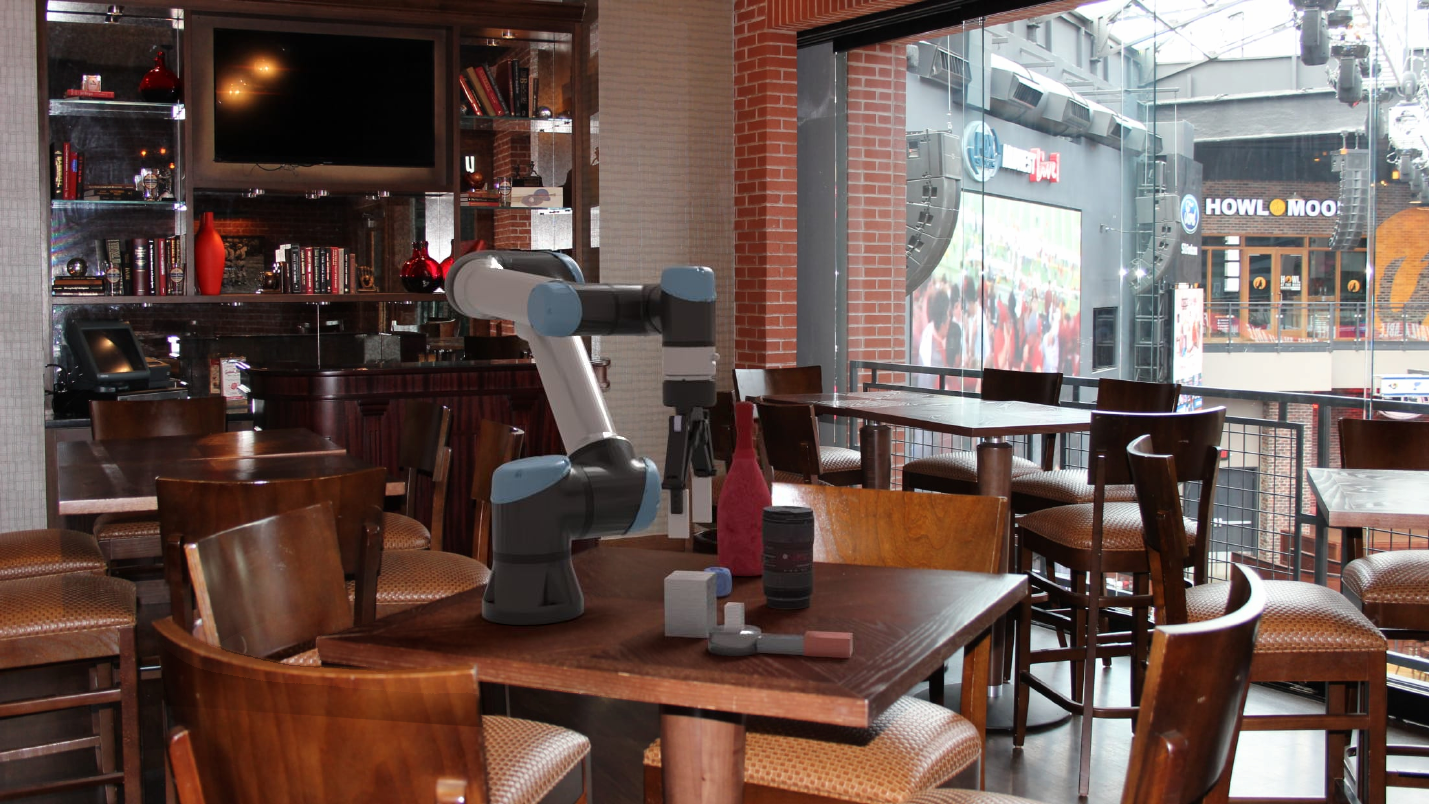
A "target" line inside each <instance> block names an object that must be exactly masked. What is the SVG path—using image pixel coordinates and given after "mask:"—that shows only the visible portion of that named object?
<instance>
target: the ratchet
mask: <svg viewBox="0 0 1429 804" xmlns="http://www.w3.org/2000/svg"><path fill="white" fill-rule="evenodd" d="M853 635H854V634H853V632H840V631H839V632H837V631H819V630H818V631H817V630H816V631H815V630H807V631H806V632H805V634H787V633H767V632H766V633H765V632H762V629H761V628H760V627H758V626H755V625H750V624H745V603H744V602H729V601H728V602H727V603H726V604H725V605H724V624H721V625H720V624H719V625H717V626H715V627H712V628H710V629H709V630H708V637H707V639H708V646H707V647H708V652H709V653H712V654H714V655H719V656H725V655H727V656H728V657H740V656H741V657H742V656H750V655H754V654H757V653H759V654H774V655H775V654H777V655H778V654H780V655H797V656H798V655H800V656H805V657H817V658H818V657H820V658H822V657H823V658H839V659H840V658H842V659H843V658H844V659H850V658H851V657H852V654H853V653H854V650H853V649H854V645H853V644H854V640H853V638H854V637H853Z"/></svg>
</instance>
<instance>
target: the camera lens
mask: <svg viewBox="0 0 1429 804" xmlns="http://www.w3.org/2000/svg"><path fill="white" fill-rule="evenodd" d="M762 516H763V517H762V543H763V553H762V554H761V562H762V563H763V571H762V575H761V578H762V579H761V580H762V589H763V595H764V596H765V597H766V606H768V607H769V608H773V609H777V610H797V609H803V608H807V607H809V606H810V604H811V596H812V595H813V591H814V590H813V589H814V588H813V587H814V582H815V580H814V579H815V576H814V575H815V571H814V544H815V533H816V532H815V522H816V521H815V514H814V509H813V508H811V507H806V506H797V505H773V506H769V507H765V508H764V511H763V515H762Z"/></svg>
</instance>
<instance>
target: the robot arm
mask: <svg viewBox="0 0 1429 804" xmlns="http://www.w3.org/2000/svg"><path fill="white" fill-rule="evenodd" d="M660 276H661V277H660V283H659V282H658V283H631V282H630V283H627V282H626V283H624V282H622V283H621V282H620V283H619V282H617V283H616V282H615V283H610V282H609V283H608V282H603V283H602V282H601V283H599V282H598V283H597V282H585V279H584V276H583V272H582V271H581V268H580V266H579V265H578V263H577V262H576V261H575V260H574V259H573V258H572V257H570V256H569V255H567V254H565V253H561V252H554V251H550V250H540V251H516V250H494V249H484V250H477V251H472V252H470V253H467V254H465V255H463V256H461V257H459V258H458V259H456V260H455V261H454V263H453V264H451V266H450V267H449V269H448V271H447V272H446V275H445V278H444V279H445V280H444V293H445V296H446V299H447V301H448V303H449V305H451V307H452V308H453V309H454V310H455V311H457V312H458V313H459V314H461V315H464V316H466V317H469V318H472V319H473V318H474V319H478V320H495V321H496V320H498V321H499V320H501V321H502V320H503V321H505V320H507V321H510V322H511V324H512V326H513V330H514V333H515V334H516V336H517V337H518V338H520V339H521V340H524V341H527V342H528V345H529V349H530V351H531V354H532V357H533V359H534V362H535V365H536V368H537V370H538V373H539V377H540V379H541V382H542V386H543V388H544V392H545V394H546V396H547V397H546V398H547V400H548V402H549V406H550V408H551V411H552V414H553V418H554V420H555V423H556V426H557V429H558V431H559V434H560V437H561V439H562V443H563V445H564V449H565V452H566V453H567V454H566V455H563V454H562V455H561V454H547V455H541V456H538V455H537V456H532V457H531V456H530V457H525V458H519V459H516V460H512V461H509V462H506V463H503V464H501V465H500V466H498V467H497V468H496V469H495V470H494V471H493V474H492V478H491V492H490V493H491V494H490V501H491V527H492V528H491V531H492V532H491V533H492V567H491V571H490V573H489V577H488V581H487V584H486V587H485V591H484V595H483V596H482V600H481V614H482V615H481V616H482V618H483V619H485V620H486V621H489V622H492V623H497V624H502V625H504V624H505V625H512V626H513V625H518V626H527V625H528V626H530V625H545V624H554V623H561V622H564V621H565V622H566V621H569V620H573V619H577V618H578V617H580V616H581V615H582V614H584V611H585V604H584V603H585V602H584V595H583V592H582V589H581V586H580V584H579V580H578V577H577V575H576V571H575V569H574V566H573V561H572V541H576V540H585V539H592V538H593V539H594V538H604V537H613V536H627V535H629V534H634V533H638V532H643V531H645V530H647V529H648V528H649V527H651V526H652V524H653V522H654V521H655V520H656V518H657V516H658V513H659V509H660V506H661V505H660V504H661V500H662V491H663V490H664V491H665V490H667V521H668V522H667V525H668V526H667V527H668V528H667V529H668V531H667V532H668V533H667V537H668V539H669V538H670V539H689V538H690V500H689V499H690V498H689V497H690V493H689V491H690V490H689V489H687V487H688V486H687V485H688V479H689V473H690V469H691V467H692V471H693V474H694V476H692V477H691V494H692V497H691V498H692V499H691V500H692V502H691V503H692V504H691V505H692V506H691V507H692V510H691V511H692V513H691V514H692V517H691V518H692V523H710V524H711V523H712V522H713V516H712V515H713V513H712V512H713V511H712V505H713V504H712V503H713V502H712V501H713V499H712V477H717V476H718V470H717V469H716V465H715V458H714V451H713V450H714V449H713V443H712V434H711V428H710V427H711V425H710V411H709V409H703V408H709V407H713V406H716V405H717V381H716V380H715V379H712V376H715V375H716V373H717V370H716V368H717V367H716V365H717V362H718V361H719V360H720V359H721V358H720V357H721V356H720V354H719V353H716V349H717V348H716V342H717V336H716V335H717V332H716V331H717V297H718V296H717V292H716V282H715V281H716V280H715V278H716V277H715V273H714V271H713V270H712V268H710V267H708V266H697V265H696V266H695V265H694V266H692V265H691V266H689V265H687V266H686V265H685V266H683V265H682V266H680V265H679V266H668V267H665V268H663V270H662V271H661V275H660ZM595 336H597V337H625V336H626V337H653V336H655V337H656V336H661V375H662V376H664V377H666V378H665V379H664V380H663V382H662V383H661V384H662V386H661V387H662V388H661V389H662V390H661V391H662V404H663V406H664V407H667V408H675V409H676V412H675V415H669V417H668V435H667V436H668V437H667V444H666V453H665V462H664V470H663V473H664V474H663V478H662V481H661V476H660V471H659V469H658V467H657V465H656V464H655V462H654V461H653V460H651V459H649V458H647V457H644V456H641V457H637V455H636V452H635V450H634V447H633V445H632V443H631V441H630V440H629V439H628V438H626V437H623V436H619V434H618V431H617V429H616V427H615V424H614V420H613V419H612V416H611V413H610V410H609V408H608V405H607V402H606V400H605V397H604V394H603V392H602V389H601V386H600V384H599V381H598V379H597V376H596V373H595V369H594V368H593V364H592V362H591V359H590V357H589V354H588V352H587V349H586V346H585V344H584V341H583V339H582V338H583V337H595Z"/></svg>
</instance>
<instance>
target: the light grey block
mask: <svg viewBox="0 0 1429 804" xmlns="http://www.w3.org/2000/svg"><path fill="white" fill-rule="evenodd" d="M663 579H664V580H663V582H664V583H663V585H664V588H663V589H664V593H663V594H664V636H665V637H677V638H678V637H679V638H680V637H681V638H701V639H708V630H709V629H710V628H712V627H715V626H718V623H717V622H718V617H717V612H718V611H717V610H718V609H717V607H718V605H717V597H718V596H716V572H703V571H699V570H698V571H695V570H674V571H673V572H672V573H670V574H669V575H668V576H666V577H665V578H663Z"/></svg>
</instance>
